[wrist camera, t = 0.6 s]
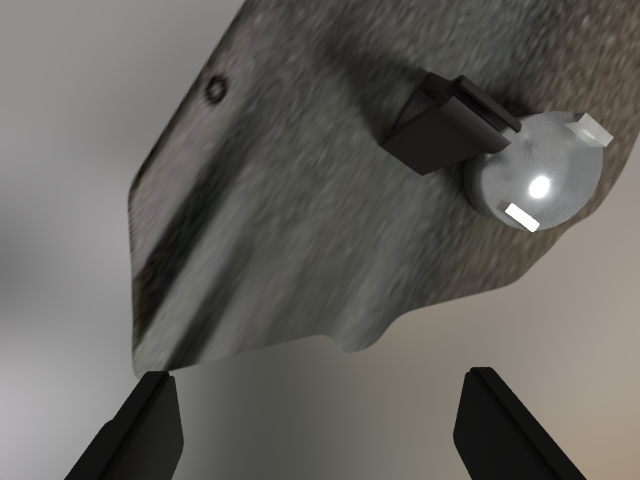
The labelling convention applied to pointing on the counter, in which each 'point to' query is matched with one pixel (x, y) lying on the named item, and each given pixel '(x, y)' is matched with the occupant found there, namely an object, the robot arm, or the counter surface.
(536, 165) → the grey short round piece
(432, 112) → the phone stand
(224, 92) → the counter surface
